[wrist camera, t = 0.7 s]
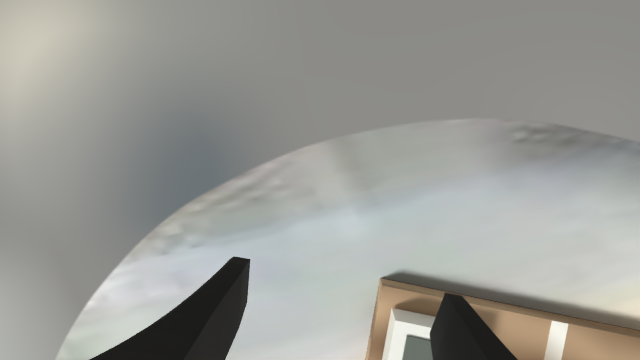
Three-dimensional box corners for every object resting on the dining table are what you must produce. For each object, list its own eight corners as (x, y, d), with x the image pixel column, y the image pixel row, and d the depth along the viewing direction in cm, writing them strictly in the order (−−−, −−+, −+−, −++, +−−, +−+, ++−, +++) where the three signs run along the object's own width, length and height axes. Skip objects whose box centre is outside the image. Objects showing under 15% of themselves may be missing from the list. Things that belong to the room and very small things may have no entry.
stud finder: (455, 384, 28) (466, 406, 25) (380, 367, 28) (383, 386, 25) (467, 323, 27) (479, 339, 25) (391, 307, 28) (395, 321, 25)
